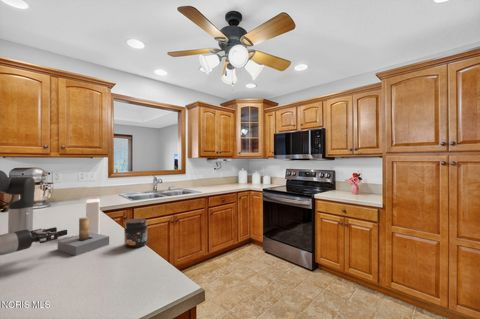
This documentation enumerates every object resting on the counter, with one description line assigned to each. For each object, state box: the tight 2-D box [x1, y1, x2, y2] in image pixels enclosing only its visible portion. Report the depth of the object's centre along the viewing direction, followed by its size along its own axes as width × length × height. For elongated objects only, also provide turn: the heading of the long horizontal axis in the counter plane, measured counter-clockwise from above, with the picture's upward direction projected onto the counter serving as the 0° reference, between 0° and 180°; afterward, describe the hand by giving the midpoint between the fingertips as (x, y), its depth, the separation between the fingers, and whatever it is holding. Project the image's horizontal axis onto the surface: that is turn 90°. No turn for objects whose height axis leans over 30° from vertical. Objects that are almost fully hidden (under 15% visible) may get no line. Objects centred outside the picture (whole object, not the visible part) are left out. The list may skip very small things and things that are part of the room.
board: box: [57, 232, 110, 256], centre depth 108 cm, size 15×15×4 cm
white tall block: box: [85, 195, 101, 234], centre depth 126 cm, size 6×6×22 cm
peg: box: [78, 216, 89, 241], centre depth 108 cm, size 4×4×14 cm
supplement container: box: [123, 218, 148, 249], centre depth 111 cm, size 10×10×12 cm
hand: (61, 230), depth 99 cm, fingers open, 8 cm apart
